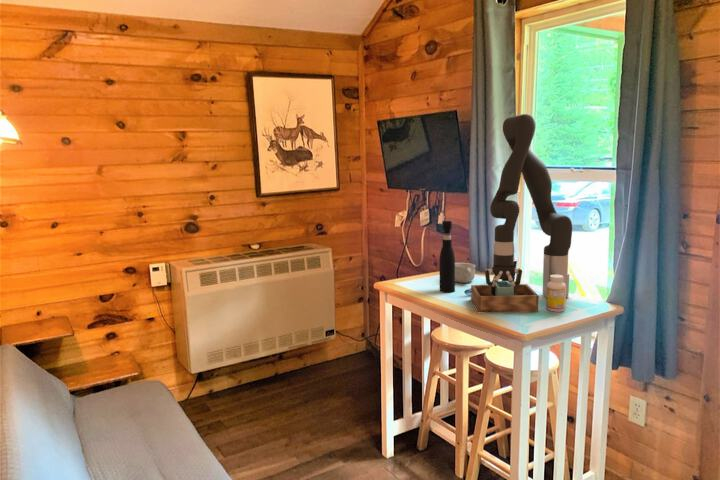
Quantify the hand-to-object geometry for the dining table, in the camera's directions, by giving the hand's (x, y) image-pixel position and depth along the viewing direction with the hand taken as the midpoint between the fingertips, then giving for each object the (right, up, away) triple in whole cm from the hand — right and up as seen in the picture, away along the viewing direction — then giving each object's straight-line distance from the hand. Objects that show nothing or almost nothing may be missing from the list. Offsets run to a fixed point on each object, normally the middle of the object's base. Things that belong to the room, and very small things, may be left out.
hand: (502, 295), depth 207 cm
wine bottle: (-18, -1, +23) cm, 29 cm away
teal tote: (0, -1, 0) cm, 1 cm away
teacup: (-8, +2, +36) cm, 37 cm away
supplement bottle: (+18, -5, -6) cm, 20 cm away
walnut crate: (0, -4, 0) cm, 4 cm away
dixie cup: (+11, +2, +33) cm, 34 cm away
